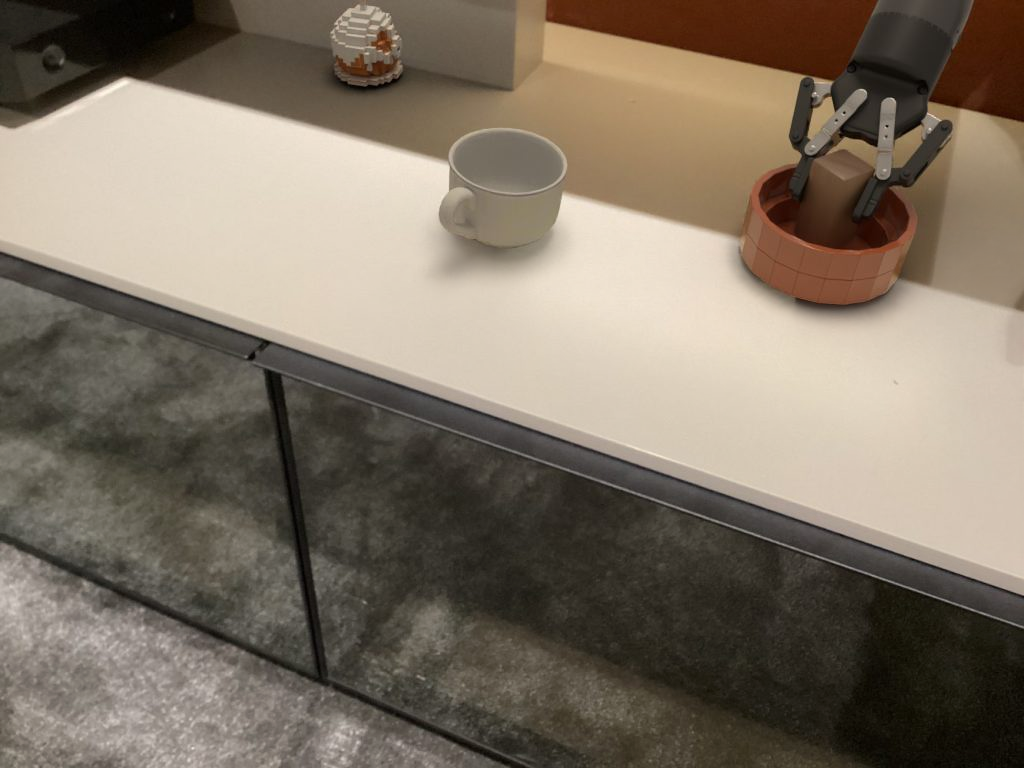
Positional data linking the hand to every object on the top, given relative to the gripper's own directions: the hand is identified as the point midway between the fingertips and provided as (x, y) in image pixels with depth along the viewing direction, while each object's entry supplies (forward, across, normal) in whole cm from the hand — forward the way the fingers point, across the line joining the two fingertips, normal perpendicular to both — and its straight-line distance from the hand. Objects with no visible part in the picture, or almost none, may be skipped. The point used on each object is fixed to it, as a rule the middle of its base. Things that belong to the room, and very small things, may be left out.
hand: (825, 209), depth 85 cm
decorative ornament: (+2, -57, +7) cm, 57 cm away
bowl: (+3, 0, +5) cm, 6 cm away
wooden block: (+2, 0, +4) cm, 5 cm away
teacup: (+14, -26, -5) cm, 30 cm away
